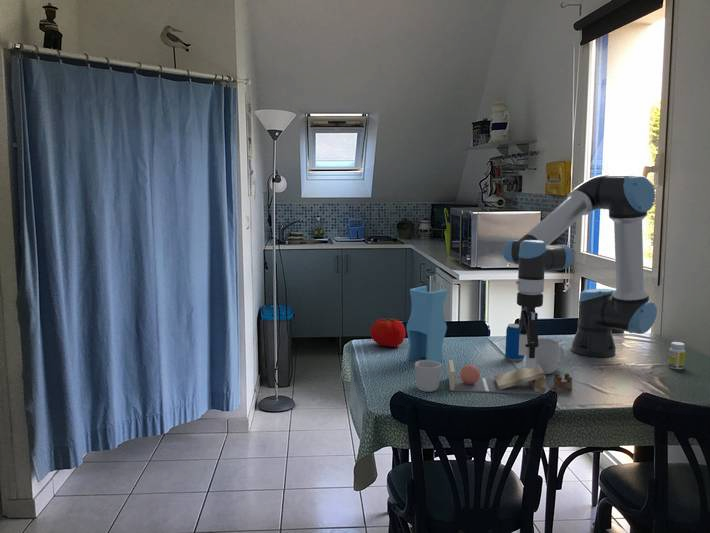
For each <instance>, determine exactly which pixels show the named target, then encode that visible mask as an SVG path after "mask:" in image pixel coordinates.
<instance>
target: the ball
mask: <svg viewBox="0 0 710 533" xmlns="http://www.w3.org/2000/svg"><path fill="white" fill-rule="evenodd" d="M459 377H461V379H462V381H463V382H464V383H466V384H474V383H476V382H477V381H478V380H479V378H481V373H480V370H479V369H478V367H477V366H475V365H474V364H466V365H464V366H462V368H460V372H459Z"/></svg>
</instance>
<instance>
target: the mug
mask: <svg viewBox="0 0 710 533" xmlns="http://www.w3.org/2000/svg"><path fill="white" fill-rule="evenodd" d="M532 343H534V342H532ZM538 344H539V346H538V347H537V350H536V364H538V363H539V365H540V367H541V368H542V370H543V372H544V374H545V375H549V374H553V373H554V372H555V370H557V369H556V368H557V365H560V364H561V363H562V362H563V361H564V359H565V349H564V348H563V347H562V346H560V342H558V341H557V340H554V339H552V338H539V337H538Z"/></svg>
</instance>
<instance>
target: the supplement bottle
mask: <svg viewBox="0 0 710 533" xmlns="http://www.w3.org/2000/svg"><path fill="white" fill-rule="evenodd" d="M685 358H686V350H685V343H683V342H680V341H672V342H671V343H670V348H669V350H668V368H670V369H674V370H683V369H684V368H685V360H686V359H685Z"/></svg>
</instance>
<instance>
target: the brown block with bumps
mask: <svg viewBox="0 0 710 533" xmlns="http://www.w3.org/2000/svg"><path fill="white" fill-rule="evenodd" d="M553 388H554V389H555V391H556V392H564V391H573V377H572V376H571V375H570V373H568V372H566V373H565V374H564V376H561V374H560V373H559V372H555V373H554V376H553Z"/></svg>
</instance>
